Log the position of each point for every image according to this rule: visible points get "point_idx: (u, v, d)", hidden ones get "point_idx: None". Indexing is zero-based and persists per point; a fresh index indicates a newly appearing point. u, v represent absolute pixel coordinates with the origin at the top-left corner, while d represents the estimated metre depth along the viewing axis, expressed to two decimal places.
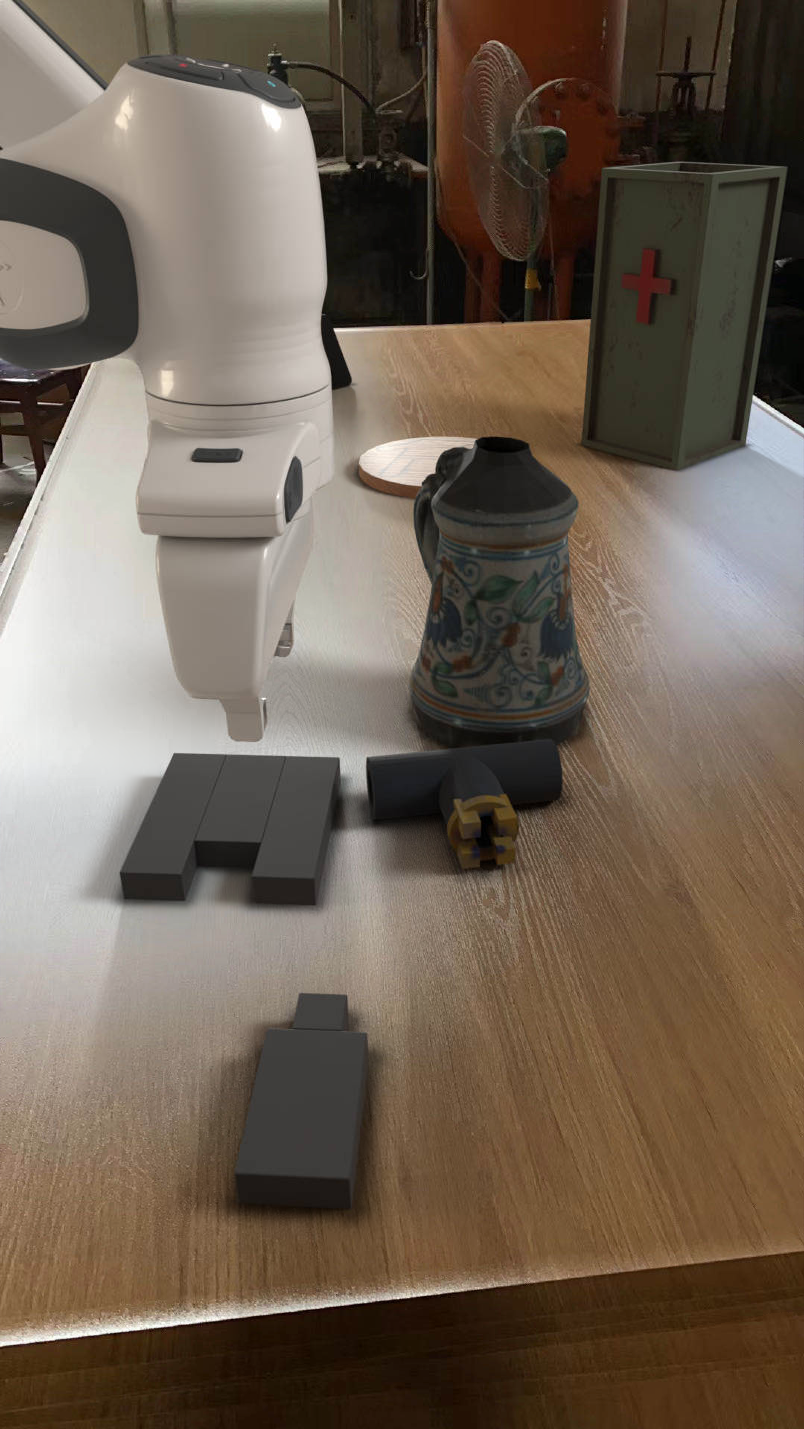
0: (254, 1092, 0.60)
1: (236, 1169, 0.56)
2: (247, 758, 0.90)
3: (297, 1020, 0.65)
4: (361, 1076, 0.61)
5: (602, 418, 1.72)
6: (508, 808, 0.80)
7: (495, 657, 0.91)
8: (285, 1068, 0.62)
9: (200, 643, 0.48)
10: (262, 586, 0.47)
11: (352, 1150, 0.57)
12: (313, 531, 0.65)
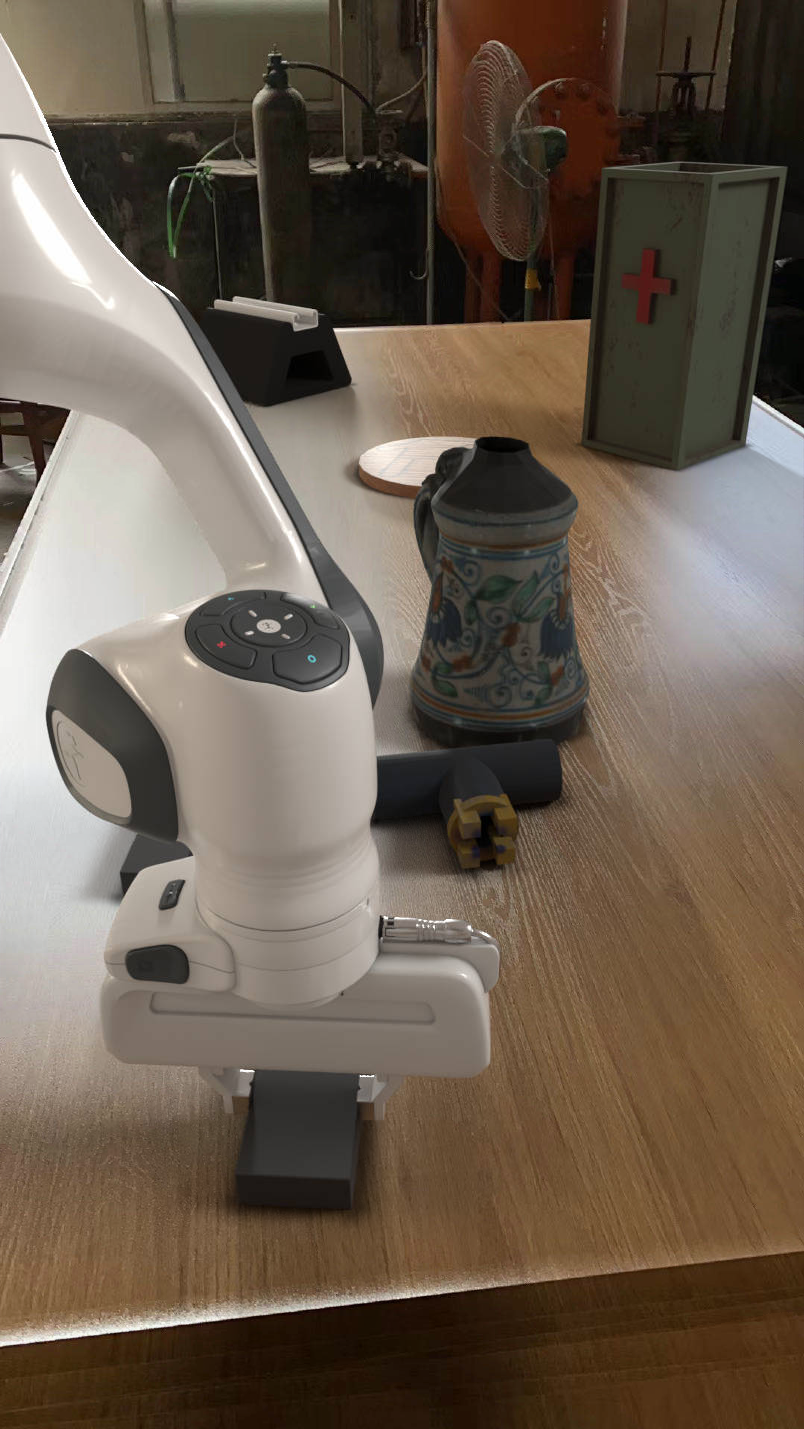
0: (254, 1092, 0.60)
1: (236, 1170, 0.56)
2: None
3: None
4: None
5: (602, 418, 1.72)
6: (508, 808, 0.80)
7: (495, 656, 0.91)
8: None
9: None
10: (102, 995, 0.54)
11: (352, 1151, 0.57)
12: (471, 1066, 0.55)
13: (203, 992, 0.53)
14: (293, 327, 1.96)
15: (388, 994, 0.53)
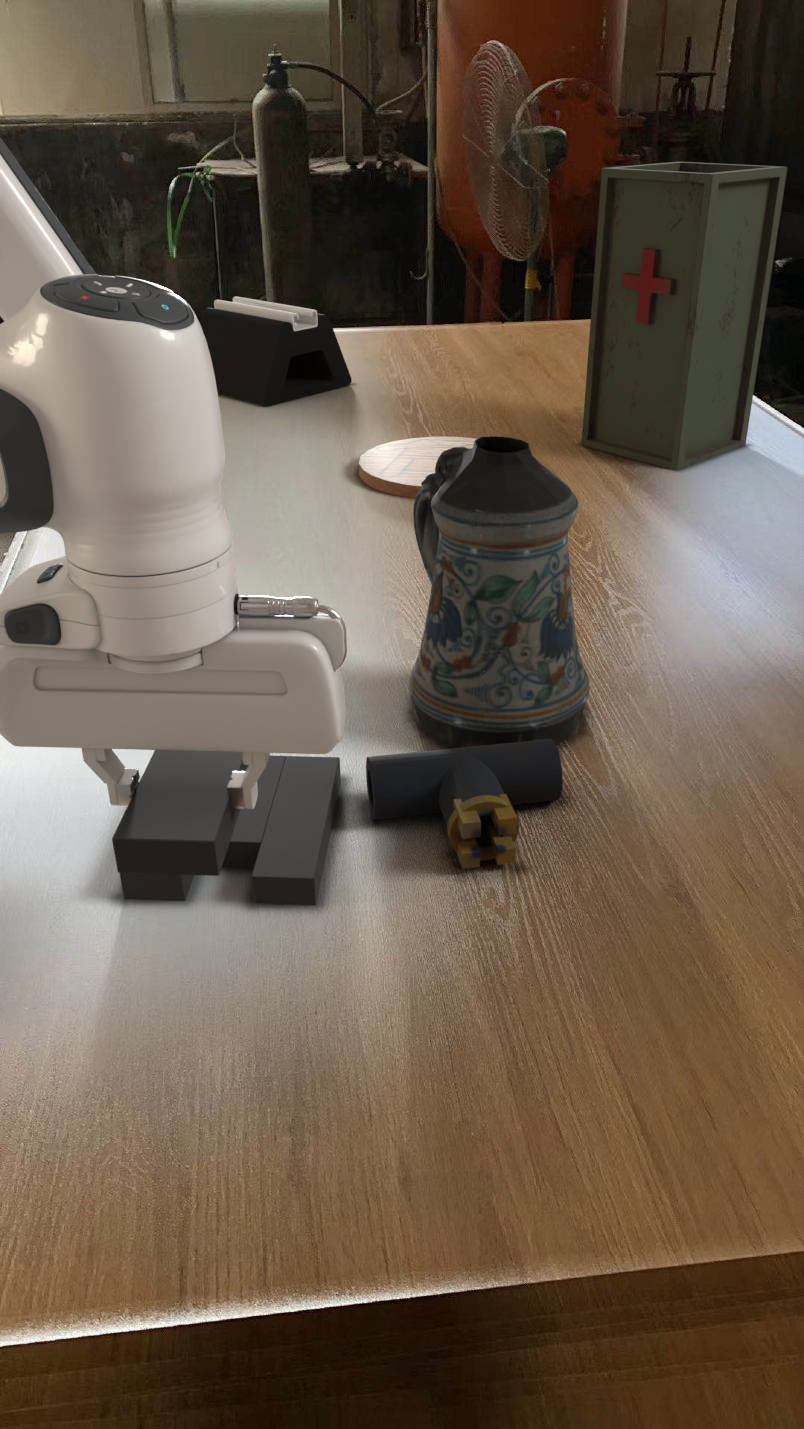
0: (138, 787, 0.67)
1: (114, 836, 0.62)
2: None
3: None
4: None
5: (602, 418, 1.72)
6: (508, 808, 0.80)
7: (495, 656, 0.91)
8: (168, 772, 0.68)
9: None
10: None
11: (220, 823, 0.63)
12: (322, 739, 0.62)
13: (76, 657, 0.59)
14: (293, 327, 1.96)
15: (243, 663, 0.60)
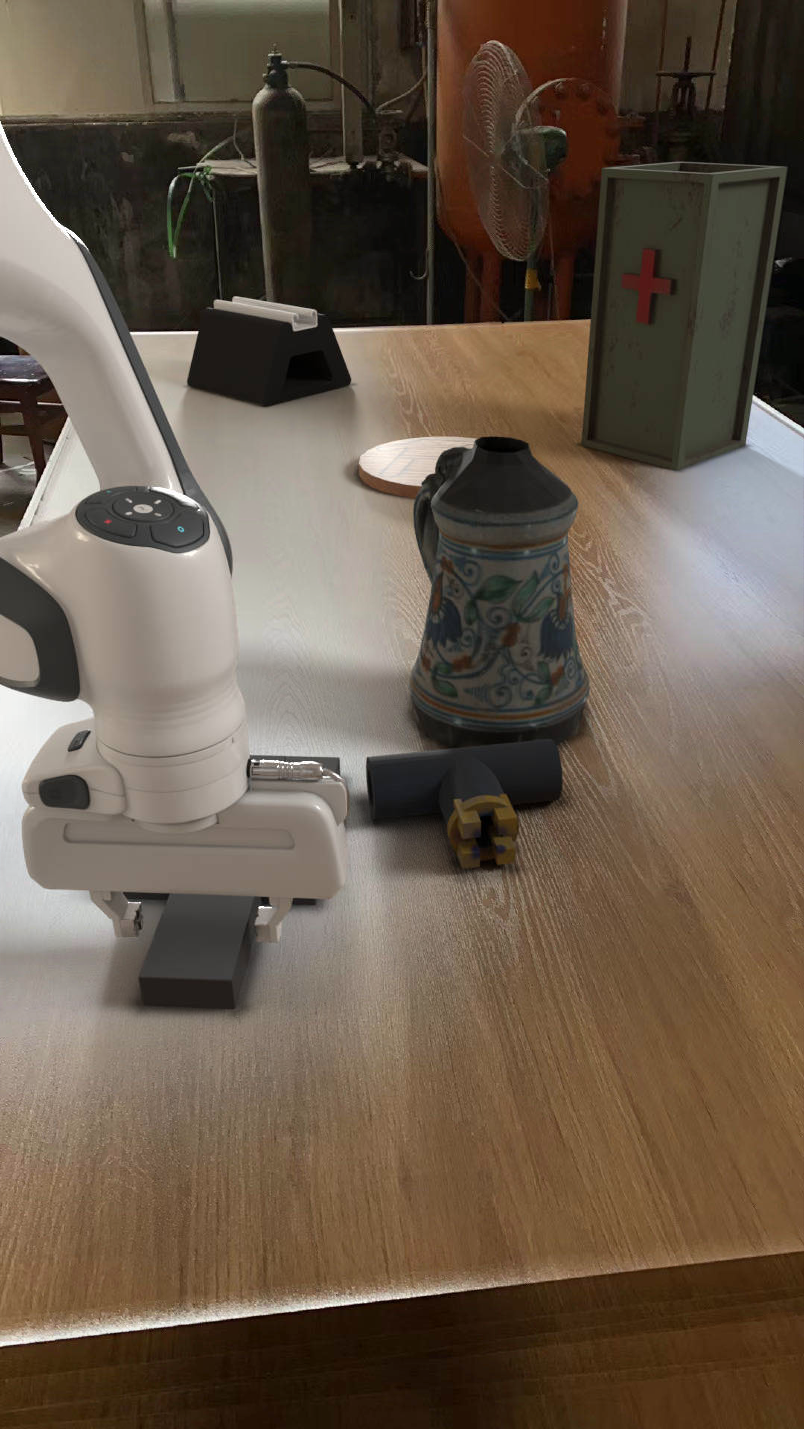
0: (160, 922, 0.73)
1: (140, 974, 0.68)
2: None
3: None
4: (250, 910, 0.74)
5: (602, 418, 1.72)
6: (508, 808, 0.80)
7: (495, 656, 0.91)
8: (188, 905, 0.74)
9: None
10: (23, 824, 0.66)
11: (236, 961, 0.69)
12: (327, 886, 0.68)
13: (103, 818, 0.65)
14: (292, 327, 1.96)
15: (255, 822, 0.65)
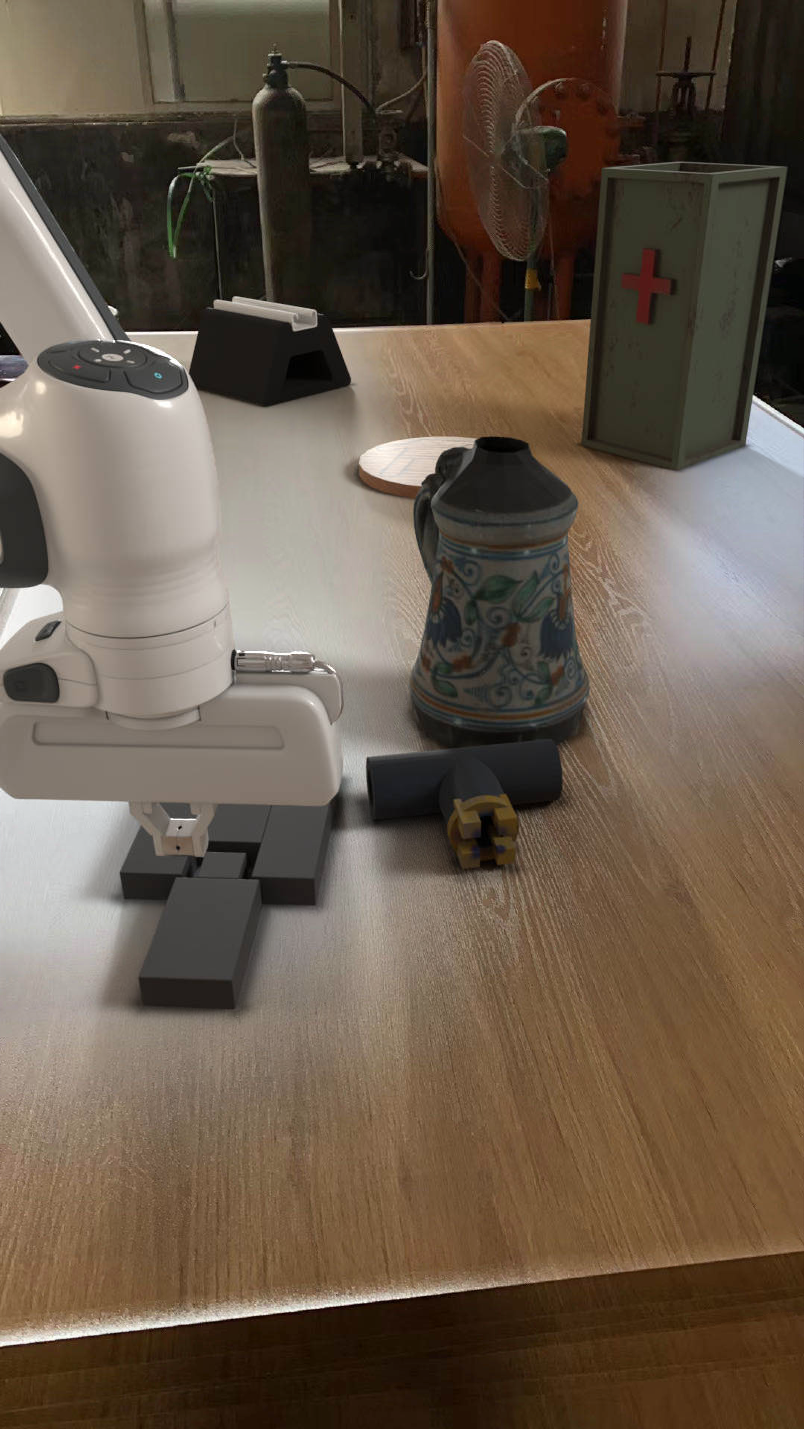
0: (160, 922, 0.73)
1: (140, 974, 0.68)
2: None
3: (202, 871, 0.77)
4: (250, 910, 0.74)
5: (602, 418, 1.72)
6: (508, 808, 0.80)
7: (495, 656, 0.91)
8: (188, 905, 0.74)
9: None
10: None
11: (236, 961, 0.69)
12: (320, 791, 0.62)
13: (75, 714, 0.59)
14: (292, 327, 1.96)
15: (240, 718, 0.60)
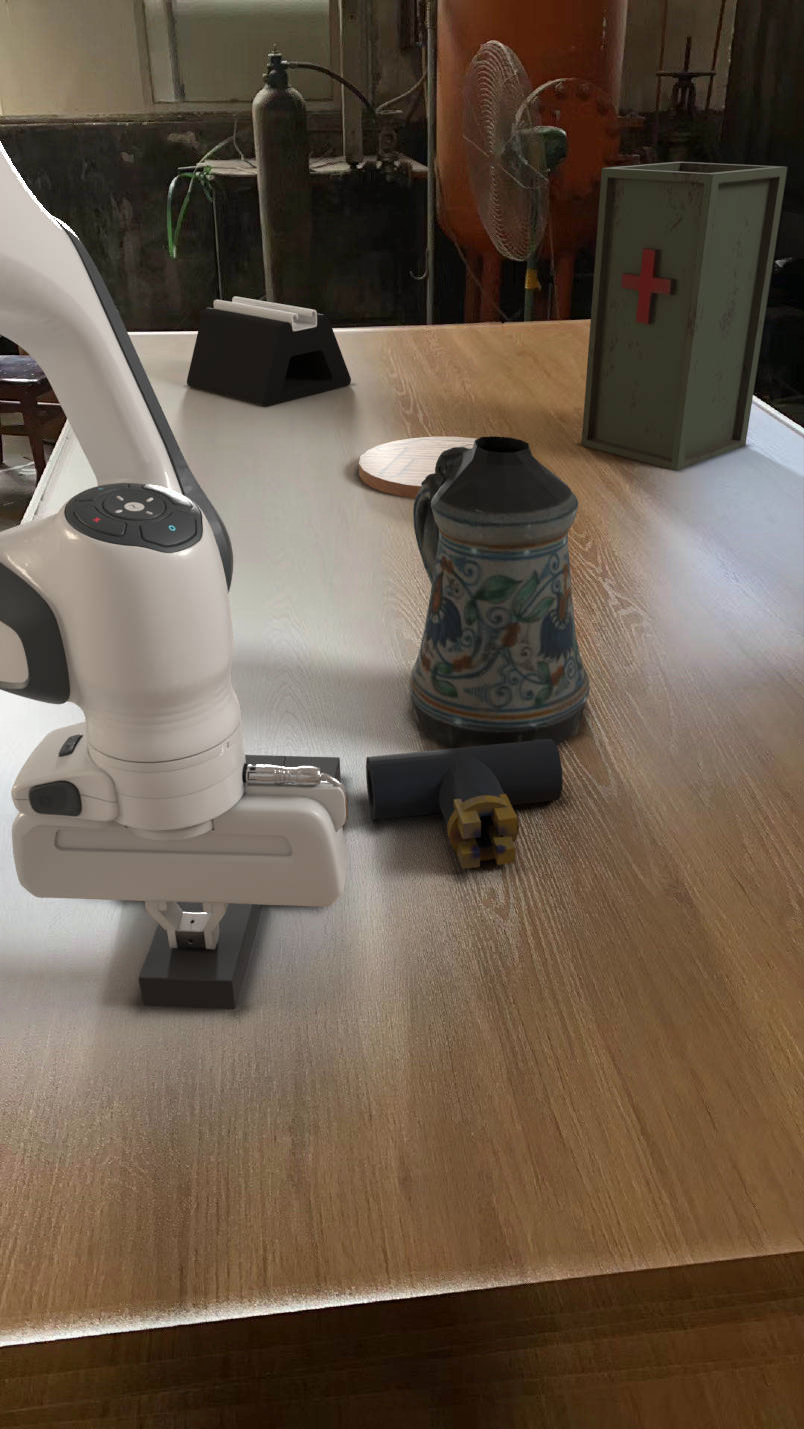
0: None
1: (140, 975, 0.69)
2: (247, 758, 0.90)
3: None
4: (250, 911, 0.74)
5: (602, 418, 1.72)
6: (508, 808, 0.80)
7: (495, 656, 0.91)
8: (188, 905, 0.74)
9: None
10: (13, 831, 0.64)
11: (236, 962, 0.69)
12: (325, 894, 0.66)
13: (95, 825, 0.63)
14: (292, 327, 1.96)
15: (251, 828, 0.64)
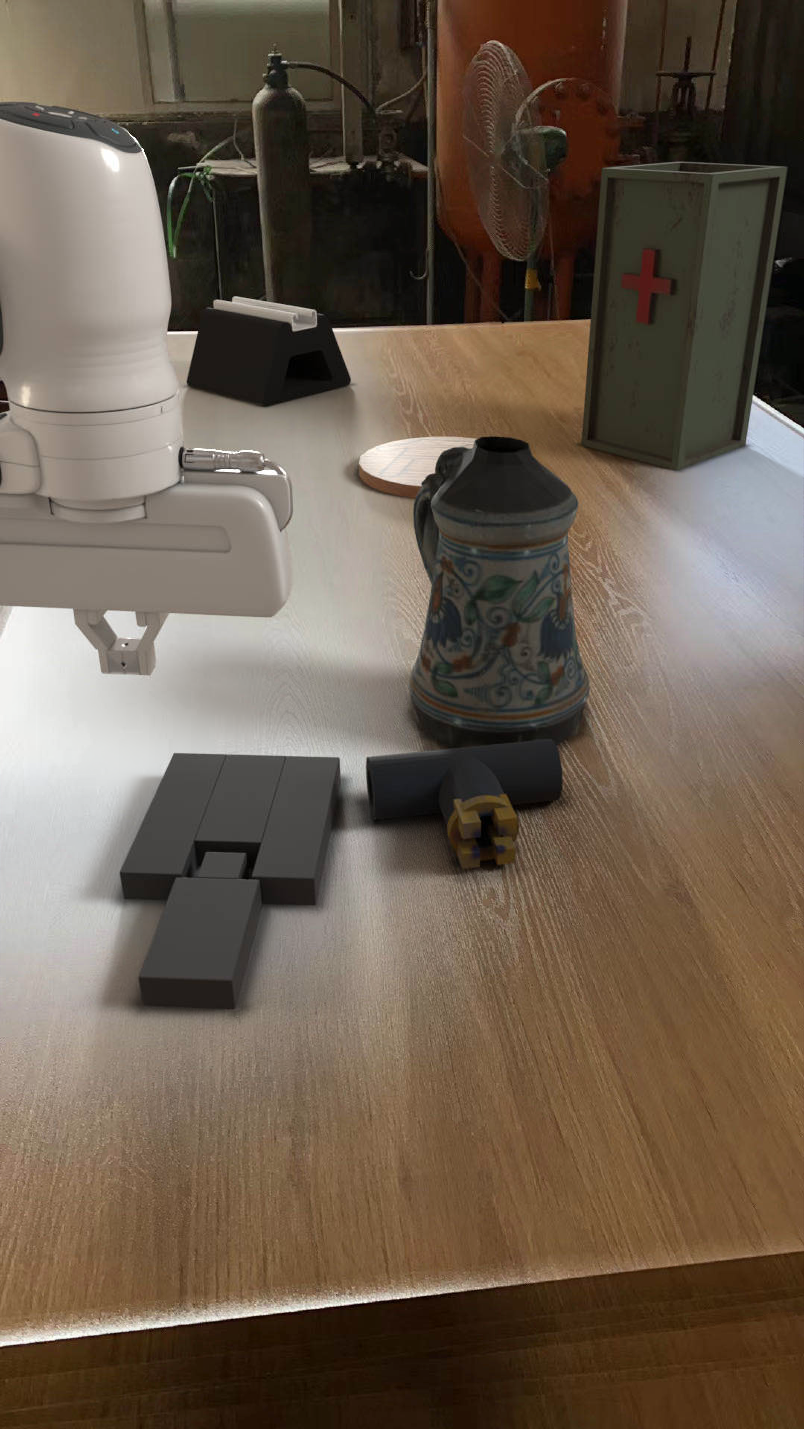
0: (160, 922, 0.73)
1: (140, 974, 0.68)
2: (247, 758, 0.90)
3: (202, 871, 0.77)
4: (250, 910, 0.74)
5: (602, 418, 1.72)
6: (508, 808, 0.80)
7: (495, 656, 0.91)
8: (188, 905, 0.74)
9: None
10: None
11: (236, 961, 0.69)
12: (267, 600, 0.61)
13: (17, 504, 0.58)
14: (292, 327, 1.96)
15: (187, 516, 0.59)
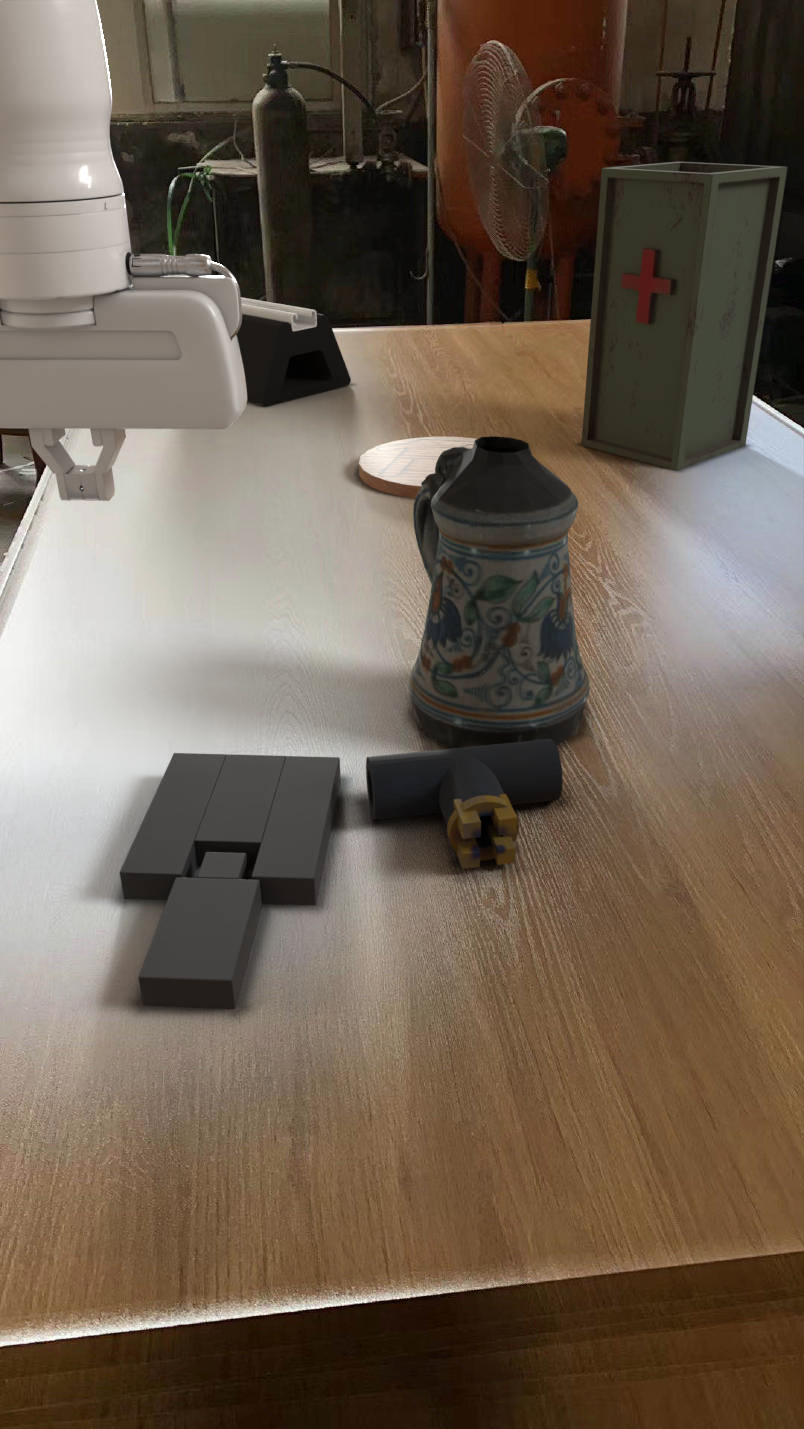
0: (160, 922, 0.73)
1: (140, 974, 0.68)
2: (247, 758, 0.90)
3: (202, 871, 0.77)
4: (250, 910, 0.74)
5: (602, 418, 1.72)
6: (508, 808, 0.80)
7: (495, 656, 0.91)
8: (188, 905, 0.74)
9: None
10: None
11: (236, 961, 0.69)
12: (219, 409, 0.61)
13: None
14: (292, 327, 1.96)
15: (136, 321, 0.59)
